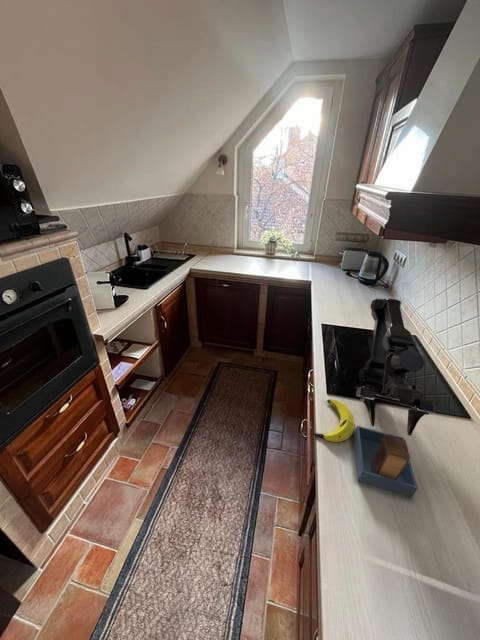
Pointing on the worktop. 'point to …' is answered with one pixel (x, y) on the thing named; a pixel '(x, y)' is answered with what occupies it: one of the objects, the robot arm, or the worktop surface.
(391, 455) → the brown wooden block
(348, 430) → the banana
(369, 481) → the blue tray
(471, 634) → the worktop surface
